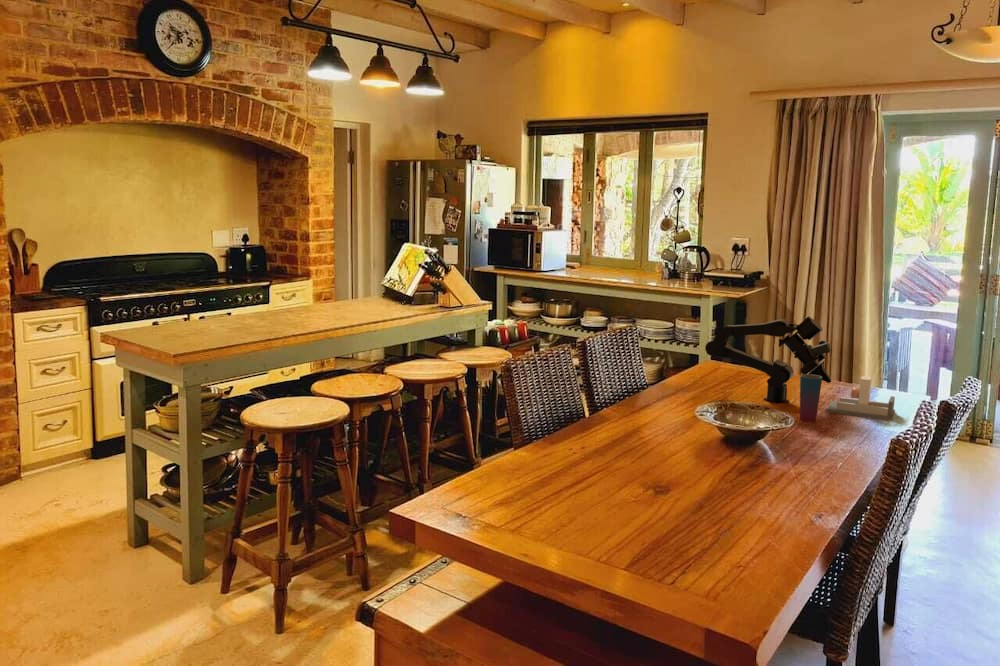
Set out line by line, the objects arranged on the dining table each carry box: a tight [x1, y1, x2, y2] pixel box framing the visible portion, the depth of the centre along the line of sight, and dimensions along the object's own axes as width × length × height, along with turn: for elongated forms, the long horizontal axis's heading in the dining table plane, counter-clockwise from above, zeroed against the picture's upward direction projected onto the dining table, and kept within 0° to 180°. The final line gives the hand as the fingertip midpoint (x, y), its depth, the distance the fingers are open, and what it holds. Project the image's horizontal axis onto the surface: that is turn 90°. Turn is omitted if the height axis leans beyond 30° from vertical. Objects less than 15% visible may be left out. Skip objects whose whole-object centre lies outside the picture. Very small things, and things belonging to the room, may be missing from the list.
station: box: [825, 395, 896, 422], centre depth 264 cm, size 20×12×6 cm, turn 59°
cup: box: [799, 373, 823, 423], centre depth 254 cm, size 7×7×15 cm
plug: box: [850, 375, 873, 405], centre depth 264 cm, size 6×5×11 cm
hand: (830, 382), depth 269 cm, fingers closed
